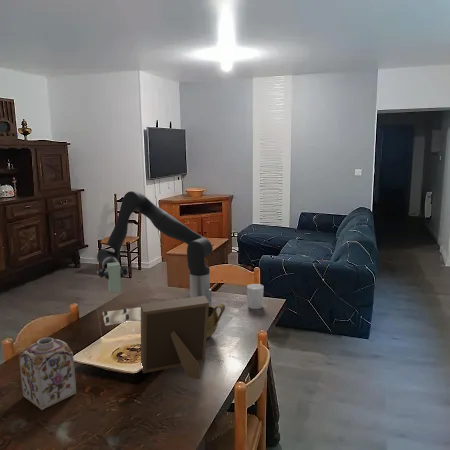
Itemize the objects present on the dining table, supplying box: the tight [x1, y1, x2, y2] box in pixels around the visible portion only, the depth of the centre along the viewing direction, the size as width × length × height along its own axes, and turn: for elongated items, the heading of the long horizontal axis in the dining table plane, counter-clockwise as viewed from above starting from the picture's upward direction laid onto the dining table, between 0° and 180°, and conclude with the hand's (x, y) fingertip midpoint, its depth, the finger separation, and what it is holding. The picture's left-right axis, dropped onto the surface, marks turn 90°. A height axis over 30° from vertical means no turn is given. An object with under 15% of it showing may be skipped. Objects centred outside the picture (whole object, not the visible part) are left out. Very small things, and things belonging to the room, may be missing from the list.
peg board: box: [102, 306, 141, 326], centre depth 192 cm, size 24×16×4 cm, turn 110°
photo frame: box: [140, 296, 209, 380], centre depth 143 cm, size 15×22×25 cm
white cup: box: [246, 283, 265, 310], centre depth 203 cm, size 8×8×10 cm
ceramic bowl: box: [174, 298, 226, 340], centre depth 170 cm, size 22×17×15 cm
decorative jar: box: [19, 337, 77, 411], centre depth 131 cm, size 12×12×18 cm
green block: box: [107, 261, 122, 294], centre depth 186 cm, size 5×5×12 cm
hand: (114, 276), depth 184 cm, fingers closed on green block, 5 cm apart
